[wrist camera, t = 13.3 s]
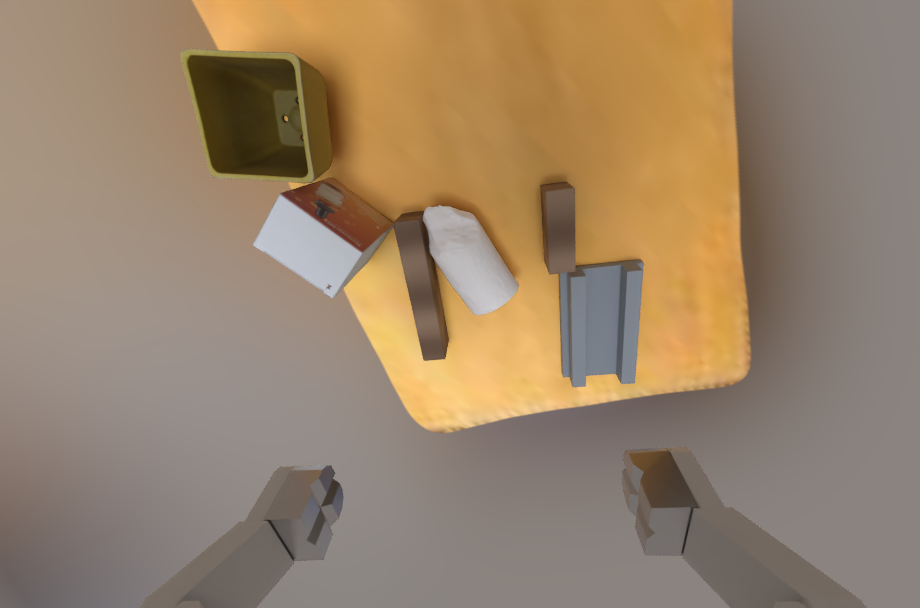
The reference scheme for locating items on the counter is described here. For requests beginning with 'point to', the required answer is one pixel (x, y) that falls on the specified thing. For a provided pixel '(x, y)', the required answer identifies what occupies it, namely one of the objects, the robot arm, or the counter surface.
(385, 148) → the counter surface
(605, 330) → the cradle
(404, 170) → the counter surface
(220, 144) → the flower pot
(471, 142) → the counter surface
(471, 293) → the roll
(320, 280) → the small box
